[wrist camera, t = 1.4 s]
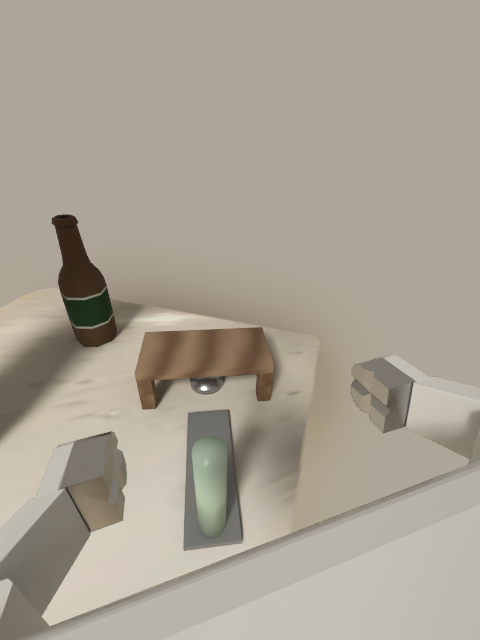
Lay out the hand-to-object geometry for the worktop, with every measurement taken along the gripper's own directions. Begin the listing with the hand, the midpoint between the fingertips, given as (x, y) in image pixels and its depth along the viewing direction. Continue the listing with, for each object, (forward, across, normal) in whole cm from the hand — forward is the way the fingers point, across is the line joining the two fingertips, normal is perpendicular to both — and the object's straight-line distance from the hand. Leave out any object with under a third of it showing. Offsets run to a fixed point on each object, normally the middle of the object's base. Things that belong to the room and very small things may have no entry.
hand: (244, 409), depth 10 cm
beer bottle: (+52, +18, +19) cm, 58 cm away
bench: (+34, -1, +24) cm, 42 cm away
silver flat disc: (+34, -1, +24) cm, 42 cm away
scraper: (+19, +2, +26) cm, 32 cm away
